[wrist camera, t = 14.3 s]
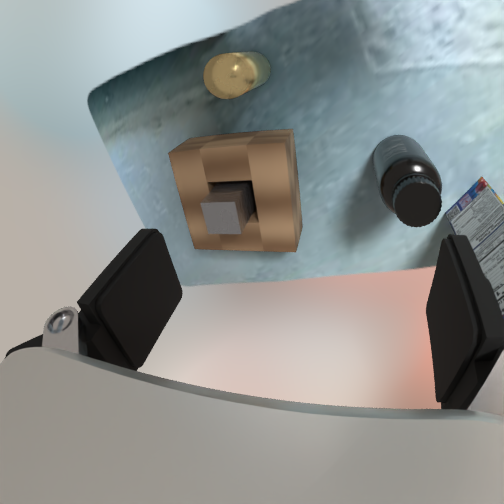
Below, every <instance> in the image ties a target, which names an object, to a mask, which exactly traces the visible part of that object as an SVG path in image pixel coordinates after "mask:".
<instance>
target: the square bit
mask: <svg viewBox="0 0 504 504" xmlns="http://www.w3.org/2000/svg"><path fill="white" fill-rule="evenodd" d="M201 207H202V211H203V215H204V219H205V223H206V227H207V230H208V234H242V232H243V230H244V228H245V226H246V225H247V223H248V221H249V219H250V217H251V215H252V213H253V211H254V210H255V208H256V201H255V195H254V189H253V183H252V180H243V181H221V182H218V183H217V184H216V185H215V186H214V187H213V189H212V190H211V191H210V192H209V193H208V195H207V196H206V197H205V198H204V199H203V200H202V202H201Z"/></svg>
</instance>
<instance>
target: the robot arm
mask: <svg viewBox="0 0 504 504" xmlns="http://www.w3.org/2000/svg"><path fill="white" fill-rule="evenodd" d="M181 298H182V288H181V285H180V282H179V280H178V277H177V274H176V271H175V269H174V266H173V263H172V260H171V257H170V255H169V252H168V249H167V246H166V243H165V240H164V237H163V235H162V234H161V233H159V231H158V230H157V229H141V230H140V231H139V232H138V233H137V234H136V235H135V236H134V237H133V238H132V239H131V240H130V241H129V242H128V244H127V245H126V246H125V247H124V248H123V249H122V250H121V251H120V252H119V253H118V255H117V256H116V257H115V258H114V259H113V260H112V261H111V263H110V264H109V265H108V266H107V267H106V268H105V269H104V270H103V272H102V273H101V274H100V275H99V276H98V278H97V279H96V280H95V281H94V282H93V283H92V285H91V286H90V287H89V288H88V289H87V290H86V292H85V293H84V294H83V295H82V297H81V298H80V299H79V300H78V301H77V303H78V305H79V307H80V308H81V311H80V312H79V313H78V311H77V310H76V309H75V308H73V307H64V308H61V309H59V310H57V311H56V312H54V313H53V314H52V315H51V316H50V317H49V318H48V319H47V321H46V323H45V326H44V331H43V334H42V335H40V336H38V337H35V338H33V339H31V340H29V341H27V342H25V343H22V344H21V345H18V346H16V347H14V348H12V349H10V350H9V351H8V352H7V354H6V357H5V359H4V360H3V362H2V363H1V364H0V504H504V318H503V315H502V312H501V309H500V306H499V304H498V301H497V298H496V296H495V293H494V290H493V288H492V285H491V283H490V281H489V279H487V278H485V276H484V273H483V271H482V269H481V266H480V264H479V262H478V259H477V257H476V255H475V253H474V250H473V248H472V246H471V244H470V242H469V240H468V238H467V236H466V235H454V234H450V235H448V237H447V239H443V240H442V243H441V247H440V252H439V257H438V261H437V266H436V270H435V274H434V278H433V282H432V287H431V290H430V294H429V298H428V301H427V307H426V315H427V321H428V328H429V335H430V343H431V350H432V359H433V369H434V380H435V393H436V401H437V402H441V409H387V408H364V407H346V406H332V405H320V404H310V403H300V402H292V401H291V402H290V401H283V400H276V399H268V398H262V397H255V396H248V395H242V394H236V393H231V392H226V391H220V390H215V389H210V388H205V387H200V386H195V385H191V384H186V383H182V382H177V381H173V380H169V379H164V378H161V377H156V376H153V375H149V374H145V373H141V372H137V369H138V368H139V367H141V366H142V365H143V364H144V362H145V360H146V358H147V357H148V355H149V353H150V352H151V350H152V348H153V346H154V344H155V343H156V341H157V339H158V337H159V336H160V334H161V332H162V330H163V329H164V327H165V326H166V324H167V322H168V320H169V319H170V317H171V315H172V314H173V312H174V310H175V308H176V307H177V305H178V303H179V302H180V300H181Z"/></svg>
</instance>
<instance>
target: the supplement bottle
mask: <svg viewBox="0 0 504 504" xmlns="http://www.w3.org/2000/svg"><path fill="white" fill-rule="evenodd" d="M373 166H374V171H375V175H376V179H377V183H378V188H379V192H380V195H381V198H382V201H383V202H384V204H385V205H386V207H387V208H388V209H389V210H390V211H392V212H393V213H395V214H396V215H397V217H398V218H399V220H400V221H402V222H403V223H404V224H406V225H407V226H411V227H422V226H426V225H427V224H430V223H431V222H433V221H434V219H436V218H437V216H438V215H439V212H440V211H441V207H442V205H441V203H442V200H441V191H442V182H441V177H440V175H439V173H438V171H437V169H436V167H435V166H434V164H433V163H432V161H431V160H430V159H429V157H428V156H427V154H426V153H425V152H424V150H423V149H422V147H421V146H420V145H419V144H418V143H417V142H416V141H415V140H413V139H412V138H410V137H407V136H404V135H394V136H390V137H388V138H386V139H384V140H383V141H382V142H380V144H379V145H378V146H377V148H376V149H375V152H374V155H373Z"/></svg>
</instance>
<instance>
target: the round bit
mask: <svg viewBox="0 0 504 504" xmlns="http://www.w3.org/2000/svg"><path fill="white" fill-rule="evenodd" d="M270 72H271V68H270V64H269V61H268V60H267V58H266V57H265V56H263V55H262V54H260V53H258V52H252V51H250V52H236V53H225V54H219V55H217V56H215V57H213V58H212V59H211V60H210V61H209V62H208V63H207V65H206V67H205V69H204V74H203V78H204V83H205V85H206V87H207V89H208V90H209V91H210V92H211V93H212V94H213V95H214V96H216V97H218V98H221V99H233V98H236V97H238V96H240V95H242V94H244V93H246V92H248V91H250V90H252V89H254V88H256V87H258V86H260V85H262V84H264V83H265V82H266V81H267V80H268V78H269V76H270Z"/></svg>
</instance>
